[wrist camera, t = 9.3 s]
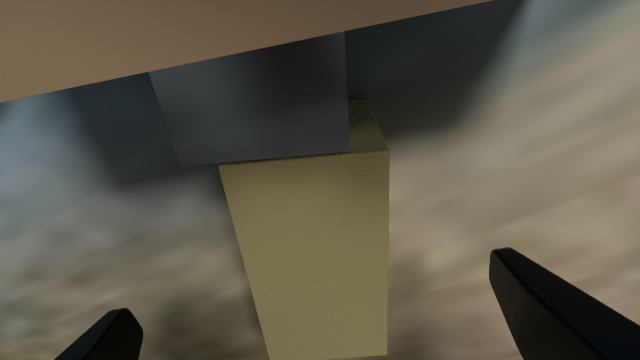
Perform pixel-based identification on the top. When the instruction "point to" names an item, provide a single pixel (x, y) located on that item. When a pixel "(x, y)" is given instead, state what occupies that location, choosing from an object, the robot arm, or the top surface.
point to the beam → (164, 34)
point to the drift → (258, 103)
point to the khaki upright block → (317, 244)
